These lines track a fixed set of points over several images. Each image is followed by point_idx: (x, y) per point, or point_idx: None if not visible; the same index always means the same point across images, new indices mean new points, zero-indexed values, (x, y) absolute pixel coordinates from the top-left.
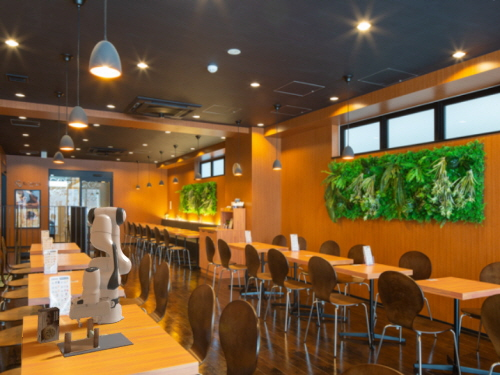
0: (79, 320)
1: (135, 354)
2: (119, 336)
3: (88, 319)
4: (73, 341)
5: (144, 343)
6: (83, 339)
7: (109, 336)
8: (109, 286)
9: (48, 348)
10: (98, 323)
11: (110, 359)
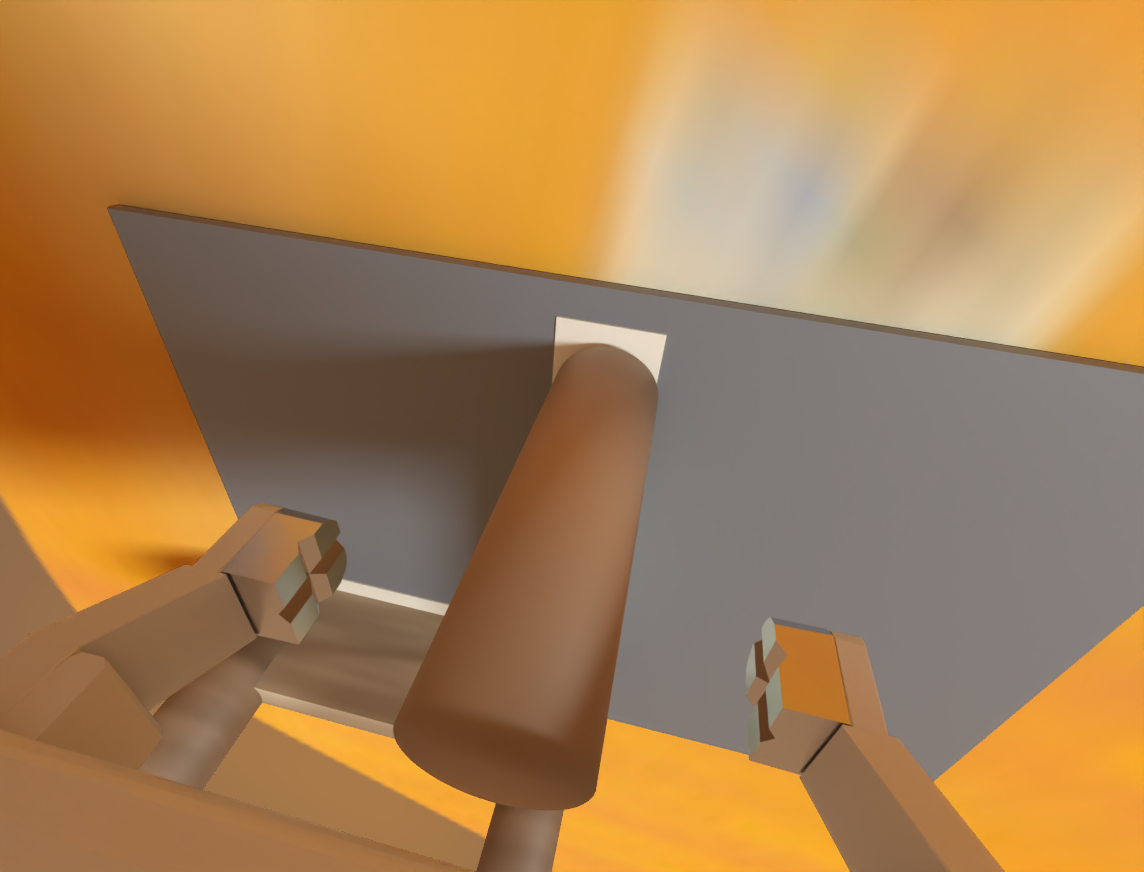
0: (144, 733)
1: (750, 860)
2: (1058, 578)
3: (429, 735)
4: (288, 705)
5: (1010, 828)
6: (389, 735)
7: (951, 476)
8: None
9: (67, 324)
10: (747, 691)
11: (575, 810)
